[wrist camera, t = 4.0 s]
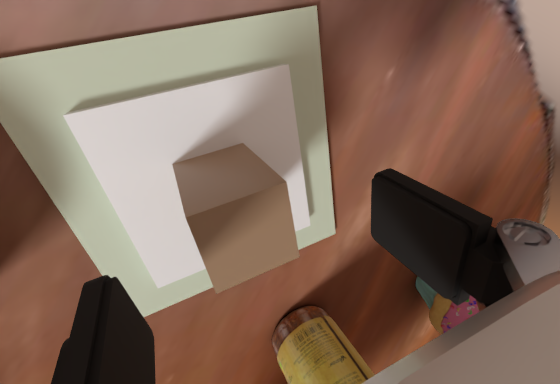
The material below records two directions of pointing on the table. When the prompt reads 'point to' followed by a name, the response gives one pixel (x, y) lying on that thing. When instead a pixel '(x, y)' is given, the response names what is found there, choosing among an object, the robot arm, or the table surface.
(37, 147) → the mat
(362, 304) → the table surface
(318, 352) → the sauce bottle
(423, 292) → the cupcake
